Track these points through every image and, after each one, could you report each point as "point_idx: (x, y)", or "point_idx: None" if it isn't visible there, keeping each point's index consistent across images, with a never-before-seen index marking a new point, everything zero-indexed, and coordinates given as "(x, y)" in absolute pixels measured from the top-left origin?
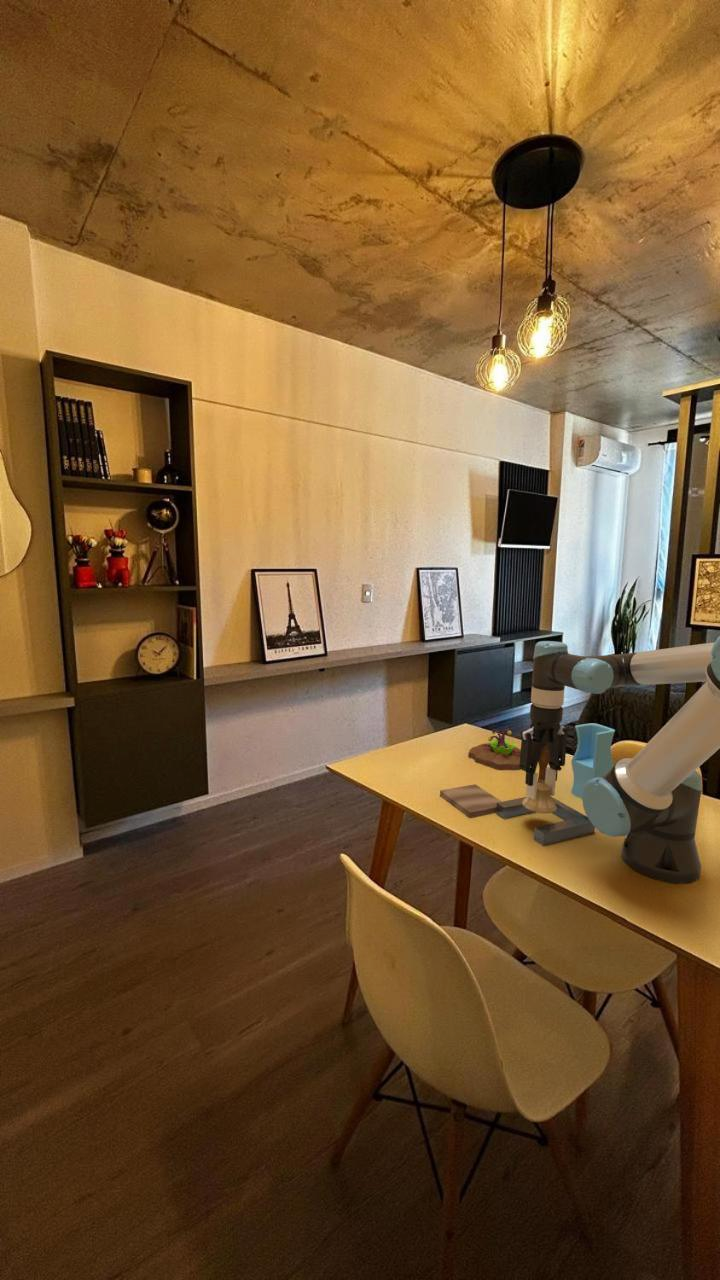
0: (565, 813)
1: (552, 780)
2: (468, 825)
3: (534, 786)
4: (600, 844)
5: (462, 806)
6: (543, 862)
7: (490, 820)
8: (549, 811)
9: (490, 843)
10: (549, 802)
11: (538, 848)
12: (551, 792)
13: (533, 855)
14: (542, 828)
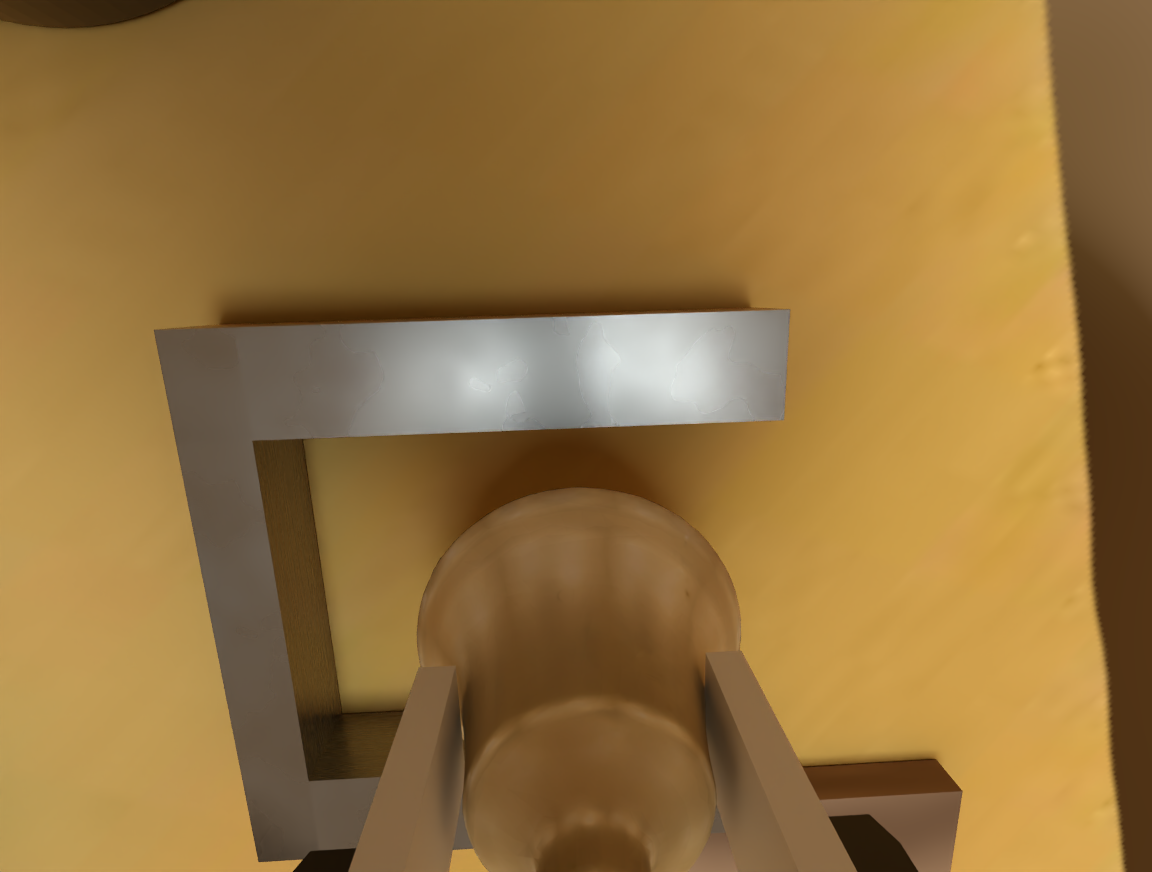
0: (295, 575)
1: (411, 857)
2: (1012, 685)
3: (811, 785)
4: (300, 161)
5: (948, 867)
6: (922, 115)
7: (833, 697)
8: (600, 496)
9: (1057, 456)
10: (560, 578)
11: (808, 289)
12: (450, 704)
13: (914, 222)
14: (733, 385)
